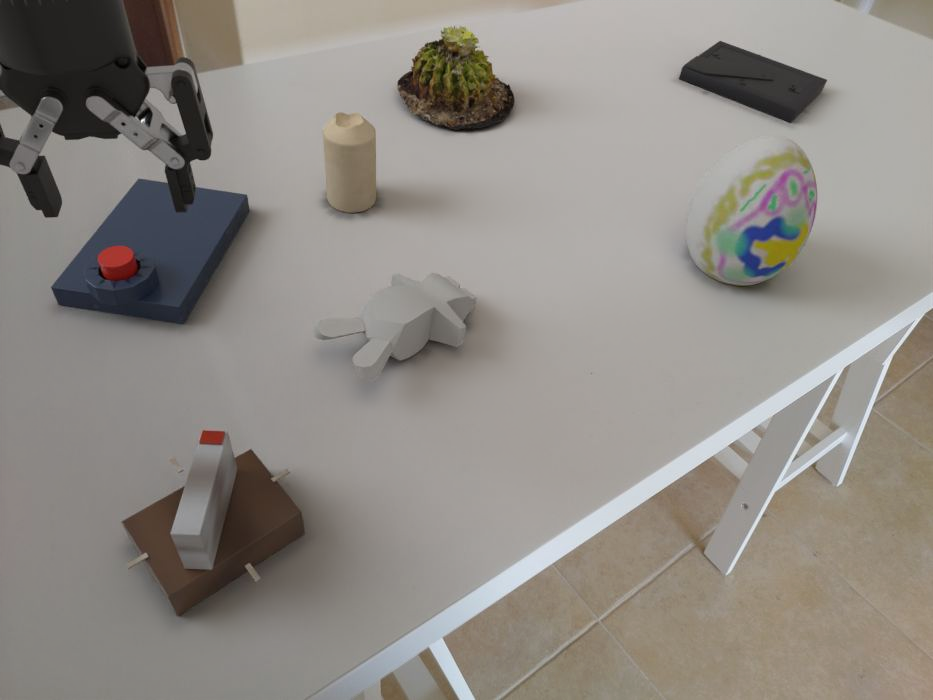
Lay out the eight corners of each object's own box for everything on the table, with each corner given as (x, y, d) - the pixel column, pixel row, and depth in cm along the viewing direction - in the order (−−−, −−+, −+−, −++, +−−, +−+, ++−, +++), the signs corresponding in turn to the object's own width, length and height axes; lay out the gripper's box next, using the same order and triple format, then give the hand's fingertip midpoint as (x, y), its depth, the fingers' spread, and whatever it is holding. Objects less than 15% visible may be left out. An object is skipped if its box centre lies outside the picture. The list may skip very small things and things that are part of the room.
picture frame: (678, 79, 111) (790, 123, 104) (683, 64, 109) (797, 108, 103) (715, 52, 119) (822, 91, 112) (720, 38, 117) (828, 77, 110)
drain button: (129, 284, 66) (124, 269, 64) (96, 279, 66) (91, 264, 65) (143, 263, 68) (139, 248, 67) (112, 258, 68) (107, 243, 67)
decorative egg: (700, 304, 76) (753, 179, 65) (657, 230, 84) (697, 109, 73) (806, 295, 78) (874, 173, 67) (754, 224, 86) (807, 106, 75)
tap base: (179, 657, 48) (169, 638, 45) (101, 526, 53) (88, 503, 51) (338, 550, 54) (335, 527, 51) (251, 442, 59) (246, 418, 57)
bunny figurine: (501, 299, 68) (374, 362, 59) (490, 340, 71) (369, 406, 62) (432, 248, 72) (304, 299, 63) (425, 289, 75) (303, 344, 66)
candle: (316, 200, 83) (310, 118, 75) (349, 179, 86) (346, 99, 79) (354, 219, 81) (351, 138, 74) (386, 197, 84) (386, 117, 77)
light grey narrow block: (212, 570, 49) (199, 533, 45) (184, 569, 48) (169, 532, 45) (237, 468, 54) (227, 428, 51) (213, 467, 54) (201, 427, 51)
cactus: (528, 129, 97) (539, 57, 90) (409, 135, 94) (411, 61, 87) (495, 68, 108) (503, 0, 101) (388, 71, 105) (388, 1, 98)
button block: (179, 331, 67) (170, 299, 64) (52, 311, 68) (37, 278, 65) (250, 211, 80) (244, 180, 77) (143, 195, 81) (134, 163, 78)
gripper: (-134, -7, 36) (-3, 247, 48) (168, -6, 39) (221, 237, 51) (-84, -62, 41) (23, 181, 53) (181, -58, 44) (227, 174, 56)
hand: (120, 208), depth 52 cm, fingers open, 8 cm apart
